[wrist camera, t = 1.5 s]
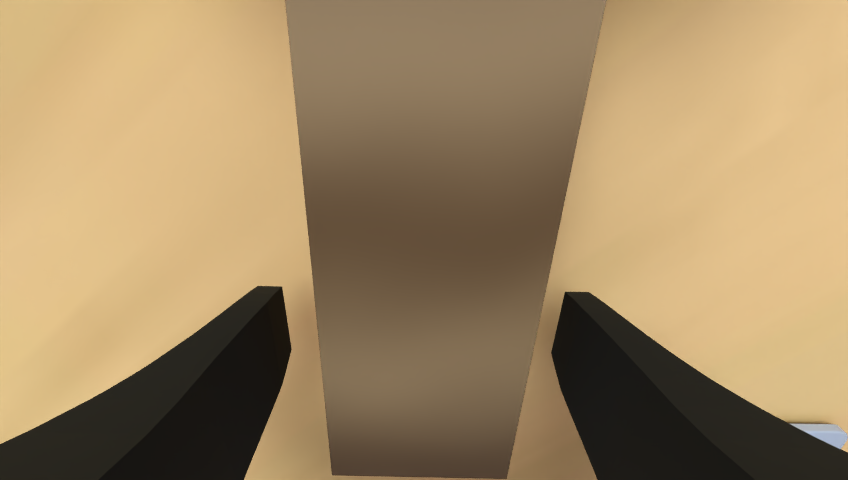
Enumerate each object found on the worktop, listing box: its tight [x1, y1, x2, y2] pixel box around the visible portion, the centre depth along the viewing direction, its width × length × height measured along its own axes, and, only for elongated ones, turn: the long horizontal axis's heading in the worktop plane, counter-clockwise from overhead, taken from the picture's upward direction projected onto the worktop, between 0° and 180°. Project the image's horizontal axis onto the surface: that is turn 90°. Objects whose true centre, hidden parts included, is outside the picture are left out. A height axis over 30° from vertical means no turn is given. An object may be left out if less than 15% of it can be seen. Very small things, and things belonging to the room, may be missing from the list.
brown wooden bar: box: [285, 0, 606, 479], centre depth 9 cm, size 14×4×4 cm, turn 178°
